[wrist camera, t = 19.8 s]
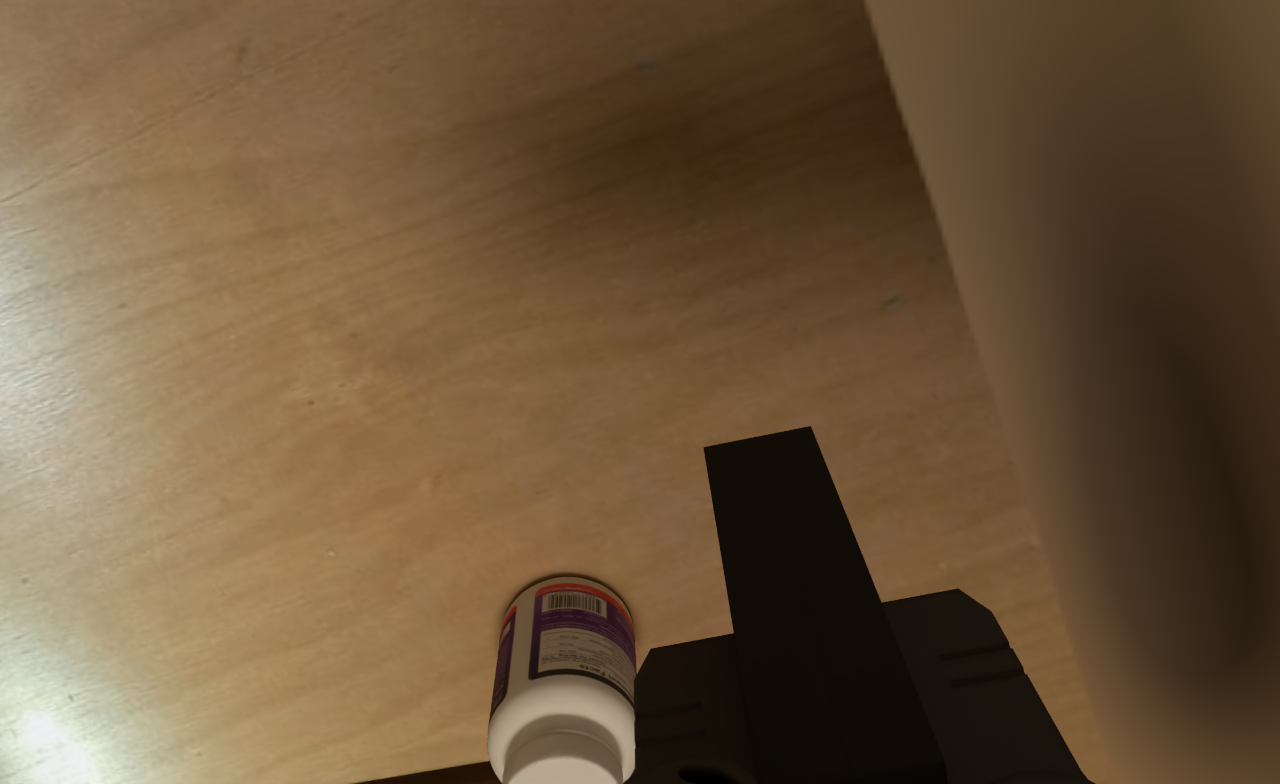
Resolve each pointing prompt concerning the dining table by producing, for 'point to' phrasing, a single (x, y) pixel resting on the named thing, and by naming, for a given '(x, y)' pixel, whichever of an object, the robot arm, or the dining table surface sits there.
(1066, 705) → the dining table surface
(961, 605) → the robot arm
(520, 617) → the pill bottle
